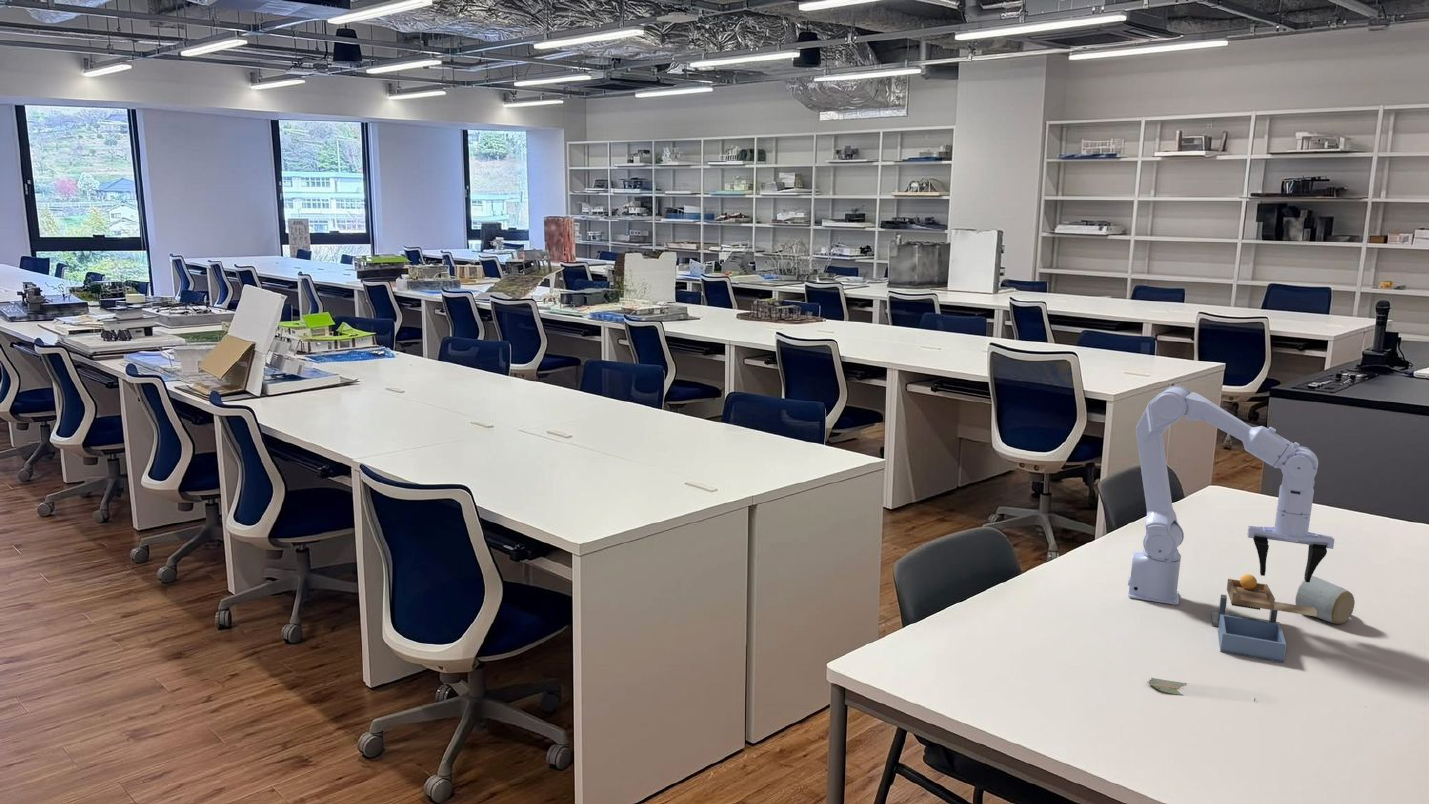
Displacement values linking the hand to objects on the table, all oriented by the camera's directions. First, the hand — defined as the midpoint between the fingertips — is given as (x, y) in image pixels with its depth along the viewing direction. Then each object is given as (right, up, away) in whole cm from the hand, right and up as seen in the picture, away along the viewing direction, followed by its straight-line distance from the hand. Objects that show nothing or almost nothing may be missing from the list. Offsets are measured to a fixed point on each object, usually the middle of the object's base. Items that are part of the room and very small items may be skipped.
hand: (1284, 577), depth 197 cm
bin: (-12, -11, -10) cm, 19 cm away
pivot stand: (-8, -9, 0) cm, 12 cm away
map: (-28, -15, -28) cm, 42 cm away
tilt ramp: (-5, -7, -3) cm, 9 cm away
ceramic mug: (+11, -9, +5) cm, 16 cm away
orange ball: (-6, -1, +3) cm, 6 cm away
